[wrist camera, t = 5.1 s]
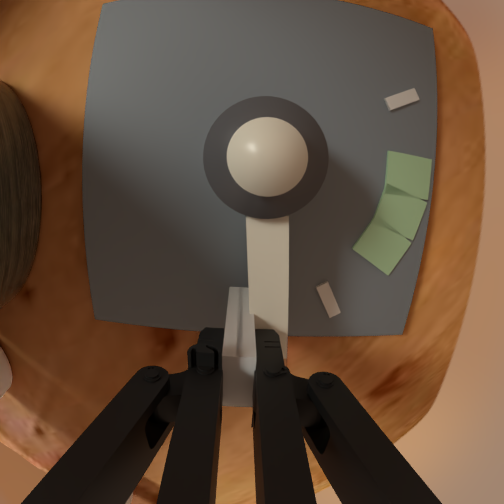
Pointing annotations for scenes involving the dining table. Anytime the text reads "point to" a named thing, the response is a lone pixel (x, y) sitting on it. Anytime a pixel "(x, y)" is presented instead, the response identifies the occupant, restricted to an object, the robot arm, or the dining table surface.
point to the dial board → (195, 181)
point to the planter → (17, 195)
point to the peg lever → (266, 190)
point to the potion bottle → (4, 373)
